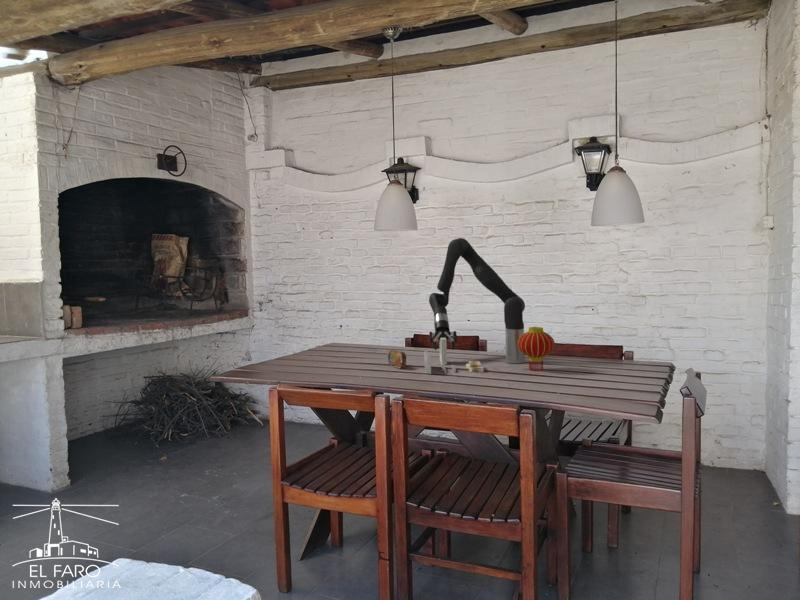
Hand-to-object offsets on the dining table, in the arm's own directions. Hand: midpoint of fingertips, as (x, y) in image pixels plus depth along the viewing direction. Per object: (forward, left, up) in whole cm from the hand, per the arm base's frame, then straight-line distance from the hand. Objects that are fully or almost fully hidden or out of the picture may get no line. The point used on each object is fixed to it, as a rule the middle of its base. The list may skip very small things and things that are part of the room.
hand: (444, 348), depth 307 cm
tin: (+24, +5, -8) cm, 26 cm away
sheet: (0, -3, -8) cm, 8 cm away
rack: (+4, +17, -8) cm, 19 cm away
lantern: (-41, +22, -8) cm, 47 cm away
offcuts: (-13, +17, -8) cm, 23 cm away
